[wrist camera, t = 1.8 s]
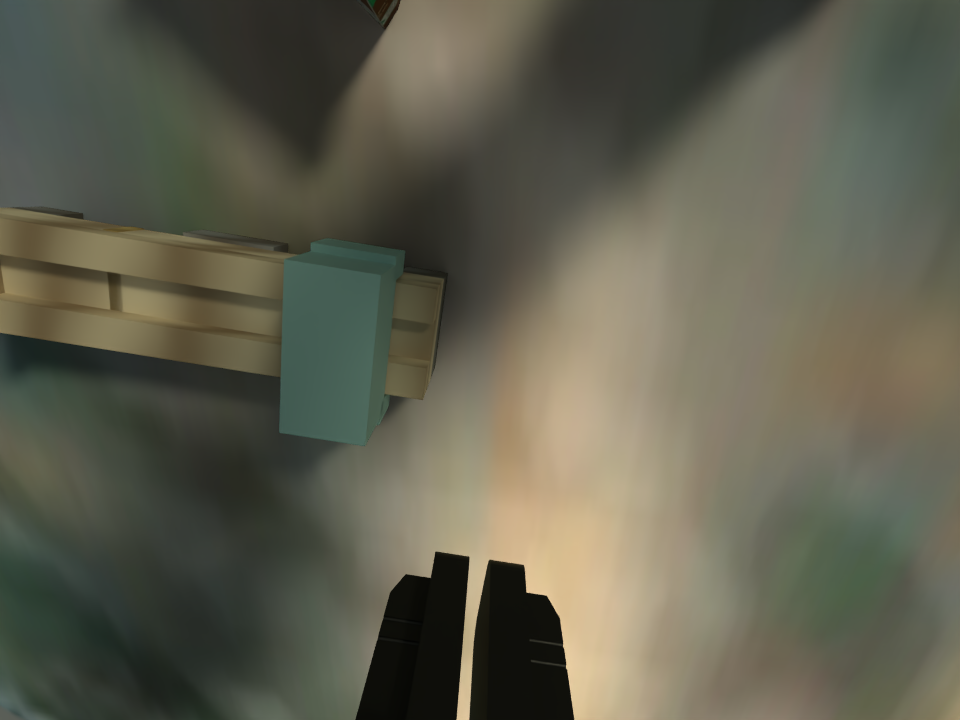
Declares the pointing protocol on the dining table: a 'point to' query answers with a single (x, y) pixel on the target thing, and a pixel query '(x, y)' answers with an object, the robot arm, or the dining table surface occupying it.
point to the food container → (381, 10)
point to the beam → (181, 295)
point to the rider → (337, 339)
